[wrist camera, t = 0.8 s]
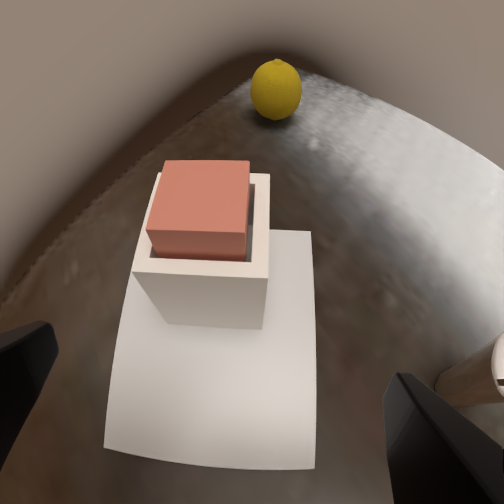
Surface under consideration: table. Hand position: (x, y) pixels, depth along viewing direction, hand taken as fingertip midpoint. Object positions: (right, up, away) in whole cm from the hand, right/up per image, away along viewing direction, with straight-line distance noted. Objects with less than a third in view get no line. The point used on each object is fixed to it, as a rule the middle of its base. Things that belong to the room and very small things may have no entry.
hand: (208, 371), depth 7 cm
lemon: (+4, +18, +28) cm, 33 cm away
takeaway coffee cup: (+16, -8, +12) cm, 22 cm away
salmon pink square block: (-1, +4, +10) cm, 11 cm away
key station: (-2, -3, +15) cm, 15 cm away
